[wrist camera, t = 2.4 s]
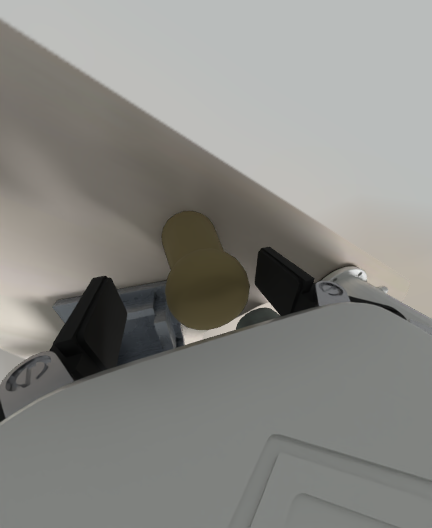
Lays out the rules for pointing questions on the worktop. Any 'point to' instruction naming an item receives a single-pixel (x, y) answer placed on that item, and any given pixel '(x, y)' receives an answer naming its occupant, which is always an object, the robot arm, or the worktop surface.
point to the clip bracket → (140, 321)
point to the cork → (201, 274)
